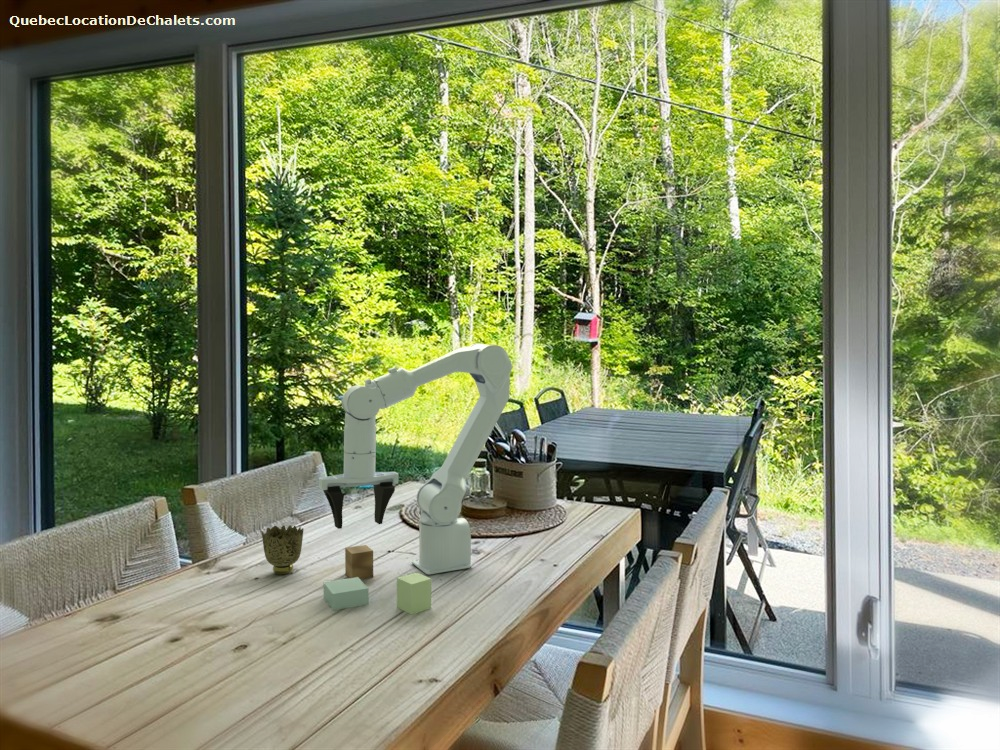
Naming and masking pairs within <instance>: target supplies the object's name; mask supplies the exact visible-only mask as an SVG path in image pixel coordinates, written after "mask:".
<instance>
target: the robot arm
mask: <svg viewBox="0 0 1000 750" xmlns="http://www.w3.org/2000/svg"><path fill="white" fill-rule="evenodd" d="M387 370H388V373H385V374H383V375H379V376H378V377H376V378H374V379H370V378H368V379H365V380H364V385H361V384H360V385H359V384H357V385H352V386H349V388H347V390H346V391H345V392H344V393H343V397H342V399H341V400H340V402H341V406H342V409H343V410H344V412H345V415H344V427H343V473H340V474H335V475H334V474H333V475H329V476H321V477H318V489H320V490H321V491H323V493H324V495H325V497H326V499H327V501H328V504H329V507H330V509H331V513H332V518H333V522H334V527H335V528H337V529H338V530H341V529H343V507H344V505H343V504H344V499H345V498H344V497H345V493H344V492H343V491H342V488H352V487H353V488H354V487H364V486H372V487H373V493H374V522H375V523H376V524H377V525H382V524H383V522H384V516H385V513H386V510H387V507H388V504H389V502H390V500H391V498H392V496H393V495H394V493H395V491H396V486H395V485H398V484H399V476H400V475H399V474H400V473H398V472H396V471H376V465H377V463H376V457H377V456H376V455H377V453H376V452H377V451H376V450H377V449H376V446H377V445H376V444H377V442H376V441H377V426H376V422H377V421H376V420H377V419H376V418H377V417H376V416H377V414H378V413H379V412H380V410H384V409H387V408H389V407H391V406H393V405H396V404H398V403H401V402H402V401H405V400H408V399H409V398H412V397H414V396H415V394H416V391H417V389H418V388H419V387H420V386H422V385H426V384H429V383H431V382H433V381H436V380H438V379H442V378H444V377H446V376H449V375H451V374H454V373H466V374H469V375H470V376H471V378H472V379H473V381H474V382H475V385H476V388H477V391H478V393H479V396H478V399H477V401H476V402H475V404H474V407H473V408H472V410H471V412H470V414H469V416H468V418H467V419H466V420H465V423H464V425H463V426H462V429H461V430H460V432H459V433H458V436H457V437H456V439H455V442H454V443H453V445H452V447H451V449H449V453H448V454H447V456H446V457H445V459H444V461H443V463H442V466H440V468H438V469H437V470H436V471H434V472H433V473H432V475H431V476H430V477H429V480H428V481H426V482H425V483H424V484H422V485H421V486H420V488H419V489H418V491H417V494H416V504H417V505H418V507H419V509H420V510H421V514H420V516H419V518H418V520H419V522H418V523H419V525H418V526H419V529H418V530H419V537H418V539H419V542H418V543H419V545H418V547H419V552H418V553H419V554H418V557H419V558H418V559H413V560H411V564H412V565H414V566H415V567H417V568H418V569H419V570H420V571H422V572H423V573H424V574H425V575H434V574H440V573H446V572H452V571H457V570H458V571H460V570H465V569H470V567H471V568H473V564H472V563H471V562H472V559H471V557H472V547H471V546H472V534H471V529H470V528H471V527H470V524H469V522H468V520H467V519H466V518H464V517H459V516H460V514H461V510H462V501H463V498H464V496H465V495H466V487H467V486H466V481H467V478H468V476H469V475H470V473H471V472H472V469H473V467H474V465H475V463H476V461H477V459H478V457H479V455H480V454H481V452H482V450H483V448H484V446H485V445H486V443H487V441H488V440H489V437H490V436H491V434H492V432H493V430H494V428H495V426H496V424H497V422H498V420H499V419H500V417H501V415H502V413H503V411H504V409H505V407H506V406H507V403H508V402H509V398H510V387H511V386H510V384H511V381H510V380H511V376H510V375H511V372H512V370H513V364H512V362H511V359H510V356H509V354H508V352H507V351H506V350H505V348H504V347H502V346H500V345H498V344H484V343H481V342H476V343H473V344H470V345H469V346H463V347H460V348H458V349H454V350H452V351H450V352H448V353H446V354H444V355H442V356H440V357H438V358H435V359H433V360H431V361H429V362H427V363H425V364H423V365H421V366H418V367H415V368H414V369H412V370H408V369H405V368H404V367H400V368H396V367H391V368H388V369H387Z"/></svg>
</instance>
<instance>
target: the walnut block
mask: <svg viewBox="0 0 1000 750" xmlns="http://www.w3.org/2000/svg"><path fill="white" fill-rule="evenodd" d="M344 551H345V552H344V555H345V557H344V559H345V566H344V567H345V569H344V570H345V571H344V573H345V575H346V576H347V577H348V578H355V577H358V578H359V579H360V580H364V579H365V580H366V579H370V578H374V550H373V549H372V548H370V547H369V546H368V545H367V544H362V545H355V546H349V547H345V548H344Z"/></svg>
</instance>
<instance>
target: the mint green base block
mask: <svg viewBox="0 0 1000 750" xmlns="http://www.w3.org/2000/svg"><path fill="white" fill-rule="evenodd" d="M322 586H323V588H322V589H323V600H324V601H326V603H327V604H328V606H329V607H330V608H331V610H332V611H336V610H342V609H348V608H355V607H359V606H365V605H369V604H370V603H369V599H370V598H369V596H370V595H369V594H370V592H369V587H368V586H367V585H366V583H364V582H363V580H362V579H359V578H358V577H355V578H349V577H348V578H343V579H335V580H329V581H323V585H322Z"/></svg>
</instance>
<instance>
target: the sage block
mask: <svg viewBox="0 0 1000 750" xmlns="http://www.w3.org/2000/svg"><path fill="white" fill-rule="evenodd" d="M396 608H397V609H399V610H402V611H403V612H404V613H405V612H406V613H407V614H410V615H415V614H418V613H420V612H423V611H427V610H429V609H432V578H430V576H426V575H424V574H421V573H418V572H414V573H411V574H410V573H409V574H406V575H402V576H400V577H396Z"/></svg>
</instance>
